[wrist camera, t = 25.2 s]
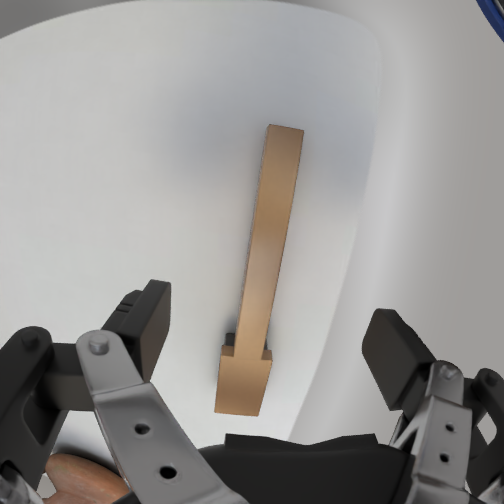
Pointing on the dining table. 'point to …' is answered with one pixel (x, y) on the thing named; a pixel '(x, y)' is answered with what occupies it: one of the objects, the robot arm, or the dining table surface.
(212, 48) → the dining table surface
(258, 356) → the brush
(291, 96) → the dining table surface
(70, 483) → the ceramic jug
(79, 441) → the dining table surface
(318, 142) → the dining table surface
